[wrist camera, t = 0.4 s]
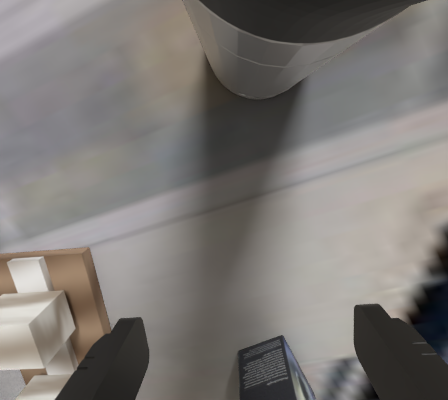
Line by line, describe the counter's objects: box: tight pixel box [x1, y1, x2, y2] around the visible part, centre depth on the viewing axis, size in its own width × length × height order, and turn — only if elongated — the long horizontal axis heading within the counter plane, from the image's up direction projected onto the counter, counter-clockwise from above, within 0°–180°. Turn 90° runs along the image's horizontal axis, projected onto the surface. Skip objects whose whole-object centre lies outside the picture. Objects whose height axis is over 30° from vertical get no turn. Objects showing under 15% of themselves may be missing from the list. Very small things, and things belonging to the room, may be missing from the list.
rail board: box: [0, 247, 111, 400], centre depth 29 cm, size 24×12×7 cm, turn 6°
